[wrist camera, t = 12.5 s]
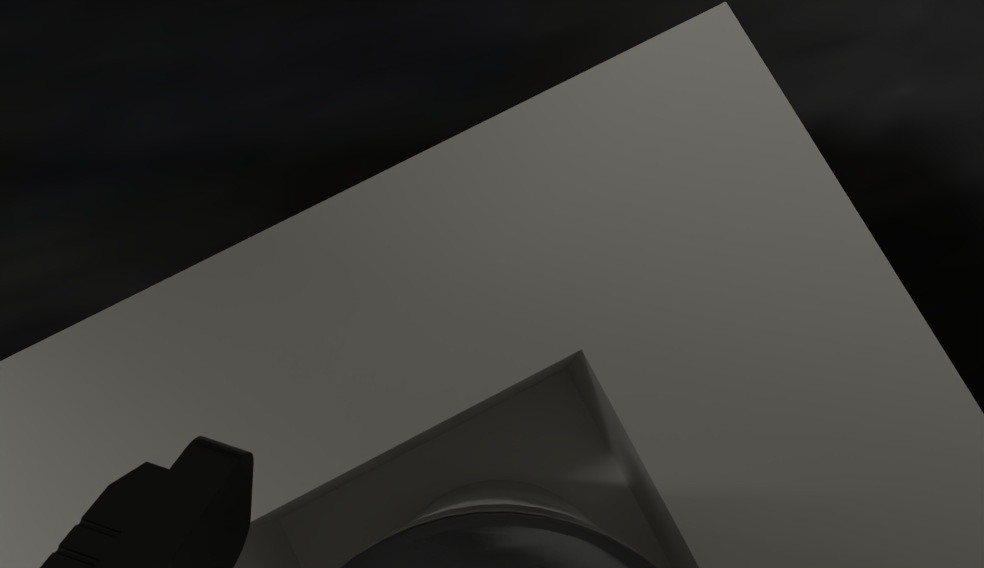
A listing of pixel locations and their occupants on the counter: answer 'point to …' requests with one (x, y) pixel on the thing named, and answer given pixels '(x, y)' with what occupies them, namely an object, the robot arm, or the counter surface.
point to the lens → (499, 533)
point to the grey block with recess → (541, 345)
